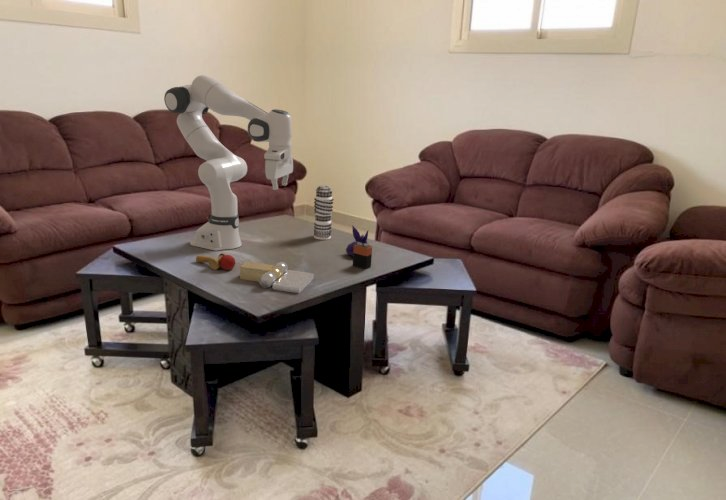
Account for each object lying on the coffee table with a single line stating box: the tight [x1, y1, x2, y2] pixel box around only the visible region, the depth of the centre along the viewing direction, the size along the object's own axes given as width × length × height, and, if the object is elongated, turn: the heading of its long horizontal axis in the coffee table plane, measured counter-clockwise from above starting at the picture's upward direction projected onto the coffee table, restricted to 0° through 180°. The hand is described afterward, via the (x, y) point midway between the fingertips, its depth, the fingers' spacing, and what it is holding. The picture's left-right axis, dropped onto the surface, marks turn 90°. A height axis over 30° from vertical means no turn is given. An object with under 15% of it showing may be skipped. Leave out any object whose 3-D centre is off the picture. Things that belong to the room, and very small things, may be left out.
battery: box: [352, 242, 373, 270], centre depth 217 cm, size 4×7×10 cm, turn 57°
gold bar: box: [239, 261, 284, 283], centre depth 197 cm, size 6×15×5 cm, turn 76°
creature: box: [345, 224, 369, 257], centre depth 232 cm, size 9×18×12 cm, turn 155°
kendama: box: [195, 252, 236, 271], centre depth 208 cm, size 8×6×18 cm
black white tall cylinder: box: [313, 185, 334, 241], centre depth 251 cm, size 9×9×25 cm
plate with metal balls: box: [258, 261, 315, 294], centre depth 195 cm, size 16×16×5 cm
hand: (280, 187), depth 209 cm, fingers open, 8 cm apart
